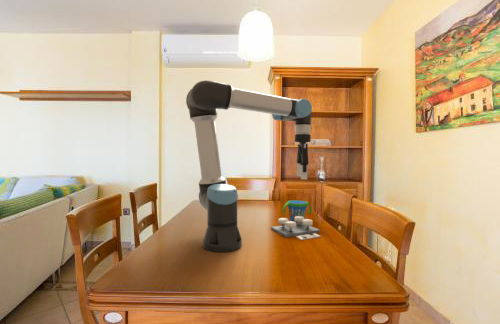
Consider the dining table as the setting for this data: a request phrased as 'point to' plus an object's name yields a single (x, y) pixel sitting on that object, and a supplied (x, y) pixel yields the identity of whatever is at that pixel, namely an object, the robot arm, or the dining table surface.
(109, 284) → the dining table surface
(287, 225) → the button
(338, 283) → the dining table surface
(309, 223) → the button
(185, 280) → the dining table surface
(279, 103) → the robot arm
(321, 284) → the dining table surface
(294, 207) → the snack cup
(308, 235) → the pattern tile
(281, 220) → the button
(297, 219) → the button
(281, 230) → the button board
